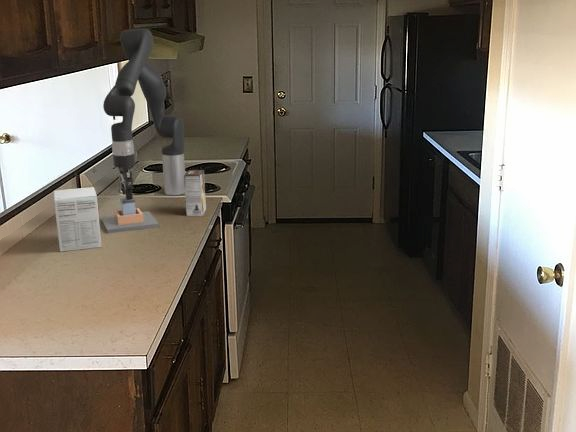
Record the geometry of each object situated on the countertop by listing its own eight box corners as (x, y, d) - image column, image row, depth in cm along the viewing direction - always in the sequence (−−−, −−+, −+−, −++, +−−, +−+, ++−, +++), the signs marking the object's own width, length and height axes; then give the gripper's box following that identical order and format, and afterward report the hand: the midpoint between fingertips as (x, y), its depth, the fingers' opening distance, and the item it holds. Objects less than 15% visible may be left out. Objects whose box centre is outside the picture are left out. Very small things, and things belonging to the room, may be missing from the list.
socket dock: (100, 219, 242) (99, 209, 241) (149, 214, 248) (148, 203, 247) (107, 233, 226) (106, 221, 225) (158, 226, 233) (158, 215, 231)
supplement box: (102, 247, 211) (97, 195, 206) (59, 252, 207) (53, 199, 202) (99, 235, 223) (94, 186, 218) (58, 240, 219) (52, 190, 214)
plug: (122, 219, 238) (120, 198, 236) (134, 217, 240) (132, 196, 237) (124, 222, 234) (122, 201, 232) (136, 221, 236) (134, 199, 233)
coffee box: (190, 209, 254) (187, 169, 250) (206, 209, 254) (204, 169, 250) (186, 216, 245) (183, 174, 241) (203, 216, 245) (200, 174, 241)
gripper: (109, 150, 235) (114, 193, 239) (115, 157, 222) (120, 202, 227) (130, 148, 238) (134, 191, 242) (137, 155, 225) (141, 200, 230)
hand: (127, 196), depth 235 cm, fingers open, 8 cm apart
